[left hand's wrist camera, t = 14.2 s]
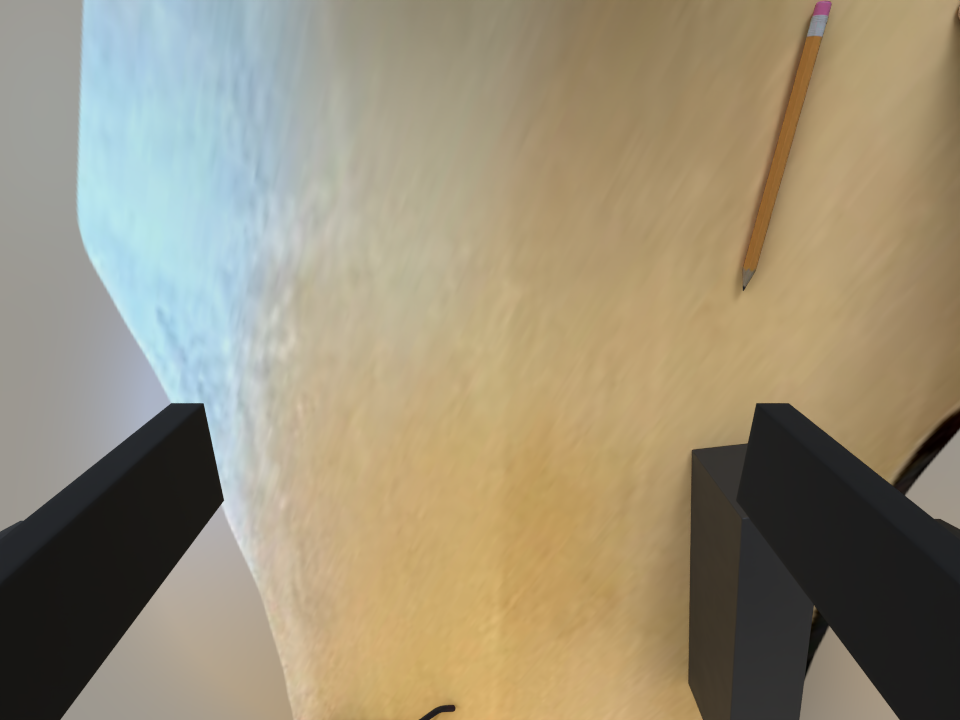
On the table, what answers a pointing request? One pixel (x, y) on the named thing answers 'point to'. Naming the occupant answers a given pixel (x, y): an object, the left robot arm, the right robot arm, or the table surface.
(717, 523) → the bar
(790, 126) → the pencil
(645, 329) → the table surface
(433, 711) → the eyeglasses
